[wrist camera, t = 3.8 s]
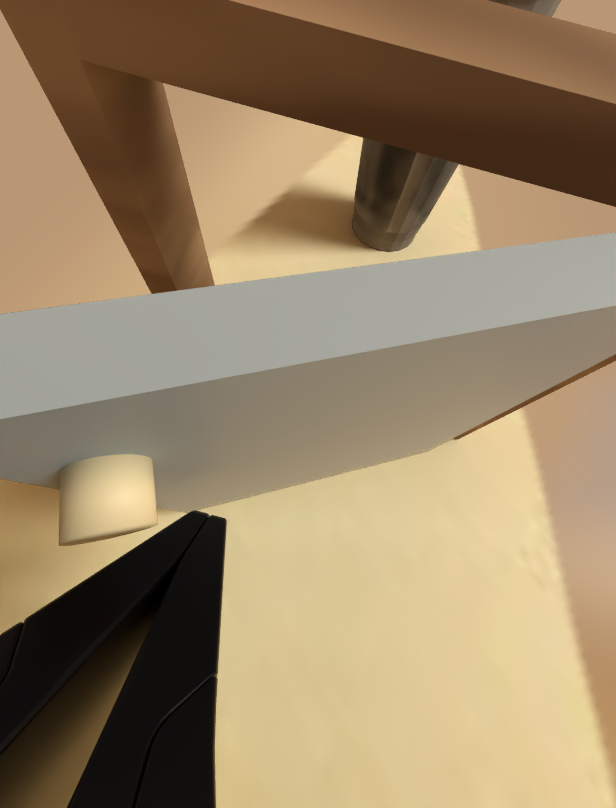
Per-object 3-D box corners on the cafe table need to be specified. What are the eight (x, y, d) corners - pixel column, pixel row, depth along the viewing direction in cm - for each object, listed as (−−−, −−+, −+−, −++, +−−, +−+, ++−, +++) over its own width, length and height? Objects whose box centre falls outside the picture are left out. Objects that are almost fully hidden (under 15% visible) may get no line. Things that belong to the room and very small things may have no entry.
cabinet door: (450, 468, 15) (854, 326, 4) (190, 538, 12) (-198, 578, 2) (432, 424, 15) (741, 215, 5) (183, 483, 13) (-129, 331, 3)
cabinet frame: (457, 439, 16) (949, 193, 4) (187, 361, 17) (-43, -72, 5) (461, 397, 17) (875, 102, 5) (205, 324, 18) (53, -115, 6)
